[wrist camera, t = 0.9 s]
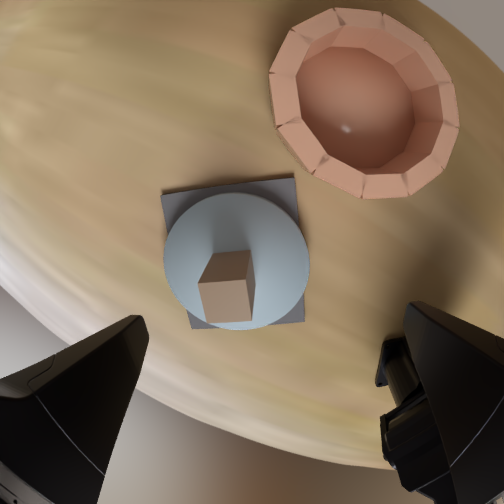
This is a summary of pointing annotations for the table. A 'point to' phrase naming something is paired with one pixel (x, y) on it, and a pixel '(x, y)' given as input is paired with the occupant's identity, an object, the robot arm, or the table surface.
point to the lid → (236, 261)
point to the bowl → (363, 103)
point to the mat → (272, 190)
